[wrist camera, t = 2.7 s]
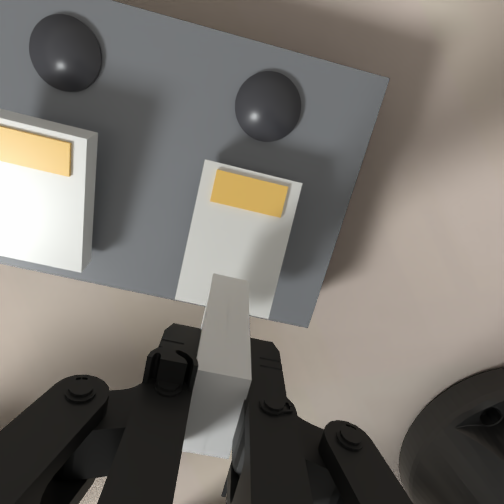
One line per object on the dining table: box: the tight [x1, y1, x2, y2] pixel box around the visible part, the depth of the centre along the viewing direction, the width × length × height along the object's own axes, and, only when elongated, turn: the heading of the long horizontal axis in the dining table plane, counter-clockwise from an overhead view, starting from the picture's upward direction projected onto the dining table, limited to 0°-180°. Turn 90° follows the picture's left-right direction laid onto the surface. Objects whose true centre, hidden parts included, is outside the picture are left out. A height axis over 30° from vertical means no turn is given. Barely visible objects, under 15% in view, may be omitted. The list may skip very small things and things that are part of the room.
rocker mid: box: [0, 109, 98, 273], centre depth 17 cm, size 4×6×1 cm
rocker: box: [175, 159, 303, 319], centre depth 18 cm, size 4×6×1 cm
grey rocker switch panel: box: [0, 0, 390, 328], centre depth 20 cm, size 28×13×4 cm, turn 76°
